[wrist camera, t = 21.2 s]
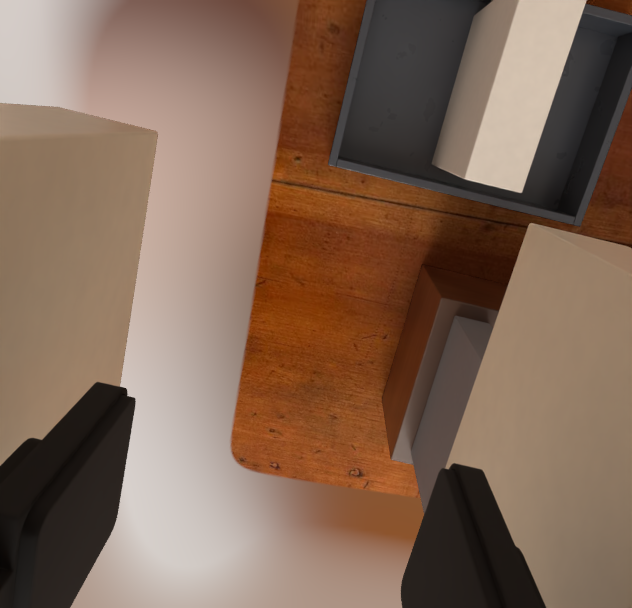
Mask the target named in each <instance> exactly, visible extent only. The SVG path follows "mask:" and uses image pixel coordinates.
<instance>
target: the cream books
mask: <svg viewBox="0 0 632 608" xmlns="http://www.w3.org/2000/svg"><path fill="white" fill-rule="evenodd" d="M157 137H158V133H157V132H156V131H154V130H150V129H145V128H142V127H138V126H134V125H129V124H125V123H121V122H117V121H113V120H109V119H105V118H100V117H97V116H93V115H88V114H84V113H80V112H76V111H72V110H68V109H64V108H60V107H50V106H36V105H20V104H6V103H0V466H1V464H2V463H3V462H4V461H5V460H6V459H7V458H8V457H9V456H10V455H11V454H12V453H13V452H14V451H15V450H16V449H17V448H18V447H19V446H20V445H21V444H22V443H23V442H25V441H26V440H27V439H28V438H36V439H41V440H42V439H43V438H44V437H45V436H46V435H47V434H48V433H49V432H50V431H51V430H52V429H53V428H54V426H55V425H56V424H57V423H58V422H59V421H60V420H61V419H62V418H63V417H64V416H65V415H66V414H67V413H68V412H69V410H70V409H71V408H72V407H73V406H74V405H75V404H76V403H77V402H78V401H79V400H80V399H81V398H82V397H83V395H84V394H85V393H86V392H87V391H88V390H89V389H90V388H91V387H92V386H93V385H94V384H95V383H96V382H101V383H106V384H110V385H114V386H119V387H120V383H121V376H122V369H123V362H124V356H125V349H126V343H127V336H128V329H129V322H130V316H131V309H132V303H133V297H134V290H135V283H136V277H137V269H138V264H139V256H140V250H141V244H142V237H143V230H144V224H145V217H146V210H147V203H148V197H149V191H150V184H151V178H152V171H153V164H154V158H155V151H156V144H157ZM453 463H456V464H461V465H465V466H469V467H474V468H478V469H482V470H483V472H484V473H485V476H486V478H487V480H488V483H489V485H490V488H491V490H492V492H493V495H494V497H495V499H496V502H497V504H498V506H499V509H500V511H501V513H502V516H503V518H504V520H505V523H506V525H507V527H508V530H509V532H510V534H511V537H512V539H513V542H514V544H515V546H516V547H518V548H519V549H520V550H521V552H522V553H523V555H524V558H525V560H526V562H527V564H528V567H529V569H530V571H531V574H532V576H533V578H534V581H535V583H536V585H537V587H538V590H539V592H540V594H541V597H542V599H543V601H544V603H545V606H546V608H632V248H630V247H627V246H624V245H620V244H616V243H612V242H608V241H604V240H599V239H595V238H591V237H587V236H583V235H579V234H575V233H571V232H567V231H563V230H559V229H555V228H550V227H546V226H542V225H538V224H534V223H530V224H529V226H528V229H527V232H526V235H525V237H524V240H523V243H522V246H521V249H520V252H519V255H518V258H517V261H516V264H515V267H514V269H513V272H512V275H511V278H510V281H509V284H508V287H507V290H506V293H505V296H504V299H503V301H502V304H501V307H500V310H499V313H498V316H497V319H496V322H495V325H494V328H493V330H492V333H491V336H490V339H489V342H488V345H487V348H486V351H485V354H484V357H483V360H482V362H481V365H480V368H479V371H478V374H477V377H476V380H475V383H474V386H473V389H472V392H471V394H470V397H469V400H468V403H467V406H466V409H465V412H464V415H463V418H462V421H461V424H460V426H459V429H458V432H457V435H456V438H455V441H454V444H453V447H452V450H451V453H450V456H449V458H448V461H447V464H446V467H445V469H449V468H450V466H451V465H452V464H453Z"/></svg>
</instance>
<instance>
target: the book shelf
mask: <svg viewBox="0 0 632 608" xmlns="http://www.w3.org/2000/svg"><path fill="white" fill-rule="evenodd" d="M507 287H508V285H506V284H502V283H497V282H493V281H489V280H485V279H481V278H477V277H473V276H468V275H464V274H460V273H456V272H452V271H448V270H443V269H439V268H435V267H431V266H427V265H422V266H421V270H420V273H419V276H418V280H417V283H416V286H415V290H414V293H413V296H412V300H411V303H410V307H409V310H408V313H407V317H406V320H405V323H404V327H403V330H402V333H401V337H400V340H399V344H398V347H397V350H396V354H395V357H394V360H393V364H392V367H391V371H390V374H389V377H388V381H387V384H386V387H385V391H384V394H383V397H382V405H383V411H384V418H385V424H386V431H387V437H388V444H389V450H390V457H391V460H395V461H399V462H404V463H408V464H412V465H414V464H413V460H412V455H411V450H412V447H413V444H414V441H415V438H416V434H417V431H418V428H419V425H420V422H421V419H422V416H423V413H424V410H425V407H426V403H427V400H428V397H429V394H430V391H431V388H432V385H433V382H434V379H435V375H436V372H437V369H438V366H439V363H440V360H441V357H442V354H443V351H444V348H445V344H446V341H447V338H448V335H449V332H450V329H451V326H452V323H453V320H454V317H455V316H460V317H464V318H468V319H472V320H477V321H481V322H485V323H489V324H490V325H491V326H492V328H494V325H495V322H496V319H497V316H498V313H499V310H500V307H501V304H502V301H503V299H504V296H505V293H506V290H507Z"/></svg>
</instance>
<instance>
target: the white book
mask: <svg viewBox="0 0 632 608" xmlns="http://www.w3.org/2000/svg"><path fill="white" fill-rule="evenodd" d="M586 1H587V0H493V1H492V2H491V3H489V4H488V5H487V6H486V7H484V8H483V9H482V10H481V11H479V12H478V13H477V14H476V15H474V17H473V21H472V24H471V28H470V31H469V35H468V38H467V42H466V45H465V49H464V52H463V56H462V59H461V63H460V66H459V70H458V73H457V76H456V80H455V83H454V87H453V90H452V94H451V97H450V101H449V104H448V108H447V111H446V115H445V118H444V122H443V125H442V129H441V132H440V136H439V139H438V143H437V146H436V150H435V153H434V157H433V160H432V165H434V166H436V167H438V168H441V169H443V170H445V171H447V172H450V173H452V174H454V175H456V176H459V177H461V178H463V179H466V180H470V181H474V182H478V183H482V184H486V185H490V186H494V187H498V188H502V189H506V190H510V191H514V192H518V193H522V191H523V188H524V185H525V182H526V179H527V176H528V173H529V170H530V167H531V164H532V161H533V158H534V155H535V152H536V149H537V146H538V143H539V140H540V137H541V134H542V131H543V128H544V126H545V123H546V120H547V117H548V114H549V111H550V108H551V105H552V102H553V99H554V96H555V93H556V90H557V87H558V84H559V81H560V78H561V75H562V72H563V69H564V66H565V63H566V60H567V57H568V54H569V51H570V48H571V45H572V42H573V39H574V36H575V33H576V30H577V27H578V24H579V21H580V18H581V15H582V12H583V9H584V6H585V4H586Z"/></svg>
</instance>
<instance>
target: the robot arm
mask: <svg viewBox="0 0 632 608" xmlns="http://www.w3.org/2000/svg"><path fill="white" fill-rule="evenodd" d="M134 410H135V398H133V397H129V396H127V389H126V388H123V387H119V386H114V385H110V384H106V383H101V382H96V383H95V384H94V385H93V386H92V387H91V388H90V389H89V390H88V391H87V392H86V393H85V394H84V395H83V397H82V398H81V399H80V400H79V401H78V402H77V403H76V404H75V405H74V406H73V407H72V408H71V409H70V410H69V412H68V413H67V414H66V415H65V416H64V417H63V418H62V419H61V420H60V421H59V422H58V423H57V424H56V425H55V426H54V428H53V429H52V430H51V431H50V432H49V433H48V434H47V435H46V436H45V437H44V438H43V439H42V440H41V439H36V438H28V439H27V440H26V441H25V442H23V443H22V444H21V445H20V446H19V447H18V448H17V449H16V450H15V451H14V452H13V453H12V454H11V455H10V456H9V457H8V458H7V459H6V460H5V461H4V462H3V463H2V464H1V466H0V608H70V607H71V605H72V603H73V601H74V599H75V598H76V596H77V594H78V592H79V590H80V588H81V587H82V585H83V583H84V581H85V580H86V578H87V576H88V574H89V572H90V571H91V569H92V567H93V565H94V563H95V562H96V559H97V558H98V556H99V554H100V552H101V551H102V549H103V547H104V545H105V543H106V542H107V540H108V538H109V536H110V534H111V532H112V530H113V528H114V525H115V522H116V518H117V514H118V509H119V502H120V496H121V489H122V483H123V477H124V471H125V465H126V459H127V453H128V447H129V440H130V434H131V428H132V421H133V416H134ZM401 601H402V608H546V606H545V603H544V601H543V599H542V597H541V594H540V592H539V590H538V587H537V585H536V583H535V581H534V578H533V576H532V574H531V571H530V569H529V567H528V564H527V562H526V560H525V558H524V555H523V553H522V552H521V550H520V549H519V548H518V547H516V546H515V544H514V542H513V539H512V537H511V534H510V532H509V530H508V527H507V525H506V523H505V520H504V518H503V516H502V513H501V511H500V509H499V506H498V504H497V502H496V499H495V497H494V495H493V492H492V490H491V488H490V485H489V483H488V480H487V478H486V476H485V473H484V472H483V470H482V469H478V468H474V467H469V466H465V465H461V464H456V463H453V464H452V465H451V466H450V468H449V469H445V468H442V469H441V470H440V471H439V473H438V476H437V479H436V482H435V485H434V488H433V491H432V494H431V496H430V499H429V502H428V505H427V508H426V511H425V514H424V517H423V520H422V523H421V526H420V529H419V532H418V535H417V538H416V541H415V543H414V546H413V549H412V552H411V555H410V558H409V561H408V564H407V567H406V570H405V573H404V576H403V580H402V586H401Z"/></svg>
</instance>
